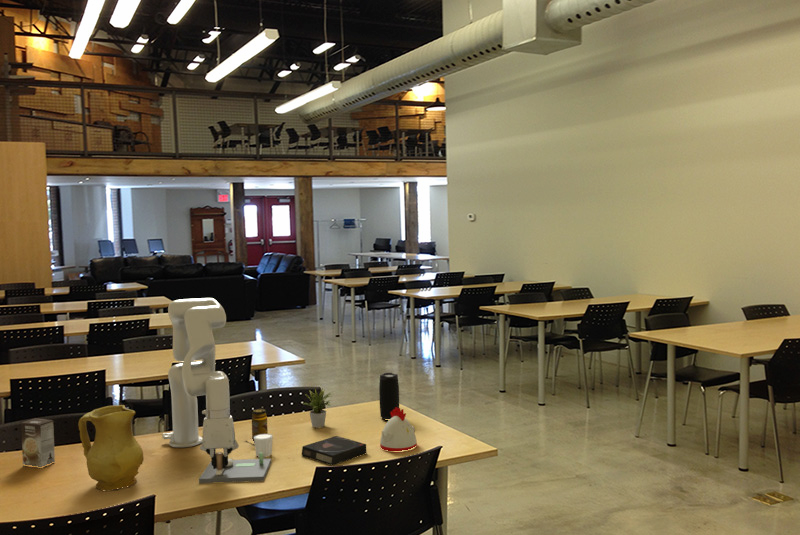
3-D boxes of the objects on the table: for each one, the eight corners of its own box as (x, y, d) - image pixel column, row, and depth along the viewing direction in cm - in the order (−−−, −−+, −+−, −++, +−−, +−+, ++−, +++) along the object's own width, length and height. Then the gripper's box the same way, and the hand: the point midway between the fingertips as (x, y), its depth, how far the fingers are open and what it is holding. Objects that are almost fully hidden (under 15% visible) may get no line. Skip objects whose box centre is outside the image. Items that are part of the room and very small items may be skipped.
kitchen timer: (396, 455, 245) (395, 414, 244) (372, 446, 256) (371, 407, 255) (424, 446, 254) (423, 407, 254) (400, 438, 265) (399, 401, 264)
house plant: (333, 431, 276) (332, 392, 275) (300, 432, 276) (298, 392, 276) (337, 422, 290) (336, 384, 290) (305, 422, 291) (304, 385, 290)
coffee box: (21, 466, 241) (19, 422, 240) (36, 461, 247) (34, 417, 246) (41, 469, 238) (39, 424, 237) (56, 463, 244) (54, 419, 243)
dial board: (198, 483, 221) (198, 466, 221) (211, 464, 239) (211, 449, 238) (263, 480, 222) (263, 464, 222) (271, 462, 240) (270, 447, 239)
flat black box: (301, 457, 246) (301, 446, 246) (336, 446, 259) (336, 435, 258) (331, 467, 235) (331, 456, 235) (366, 454, 247) (366, 444, 247)
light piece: (218, 462, 236) (217, 444, 235) (234, 461, 236) (234, 443, 236) (210, 475, 223) (209, 456, 223) (227, 474, 223) (226, 455, 223)
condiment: (272, 440, 267) (271, 410, 266) (253, 445, 261) (252, 414, 260) (262, 436, 272) (261, 407, 271) (243, 441, 266) (242, 411, 265)
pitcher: (109, 497, 210) (106, 418, 209) (74, 487, 220) (70, 411, 219) (155, 480, 225) (152, 406, 224) (120, 470, 235) (117, 399, 233)
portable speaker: (381, 422, 289) (379, 376, 288) (379, 416, 298) (378, 372, 297) (400, 421, 290) (399, 375, 289) (398, 415, 299) (397, 371, 298)
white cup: (257, 459, 244) (256, 440, 244) (252, 453, 250) (251, 435, 250) (275, 455, 247) (275, 437, 247) (270, 450, 253) (269, 432, 253)
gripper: (190, 417, 220) (192, 472, 221) (240, 415, 221) (242, 470, 222) (196, 411, 228) (198, 464, 229) (244, 409, 229) (246, 462, 230)
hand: (220, 467), depth 225 cm, fingers closed on light piece, 2 cm apart
